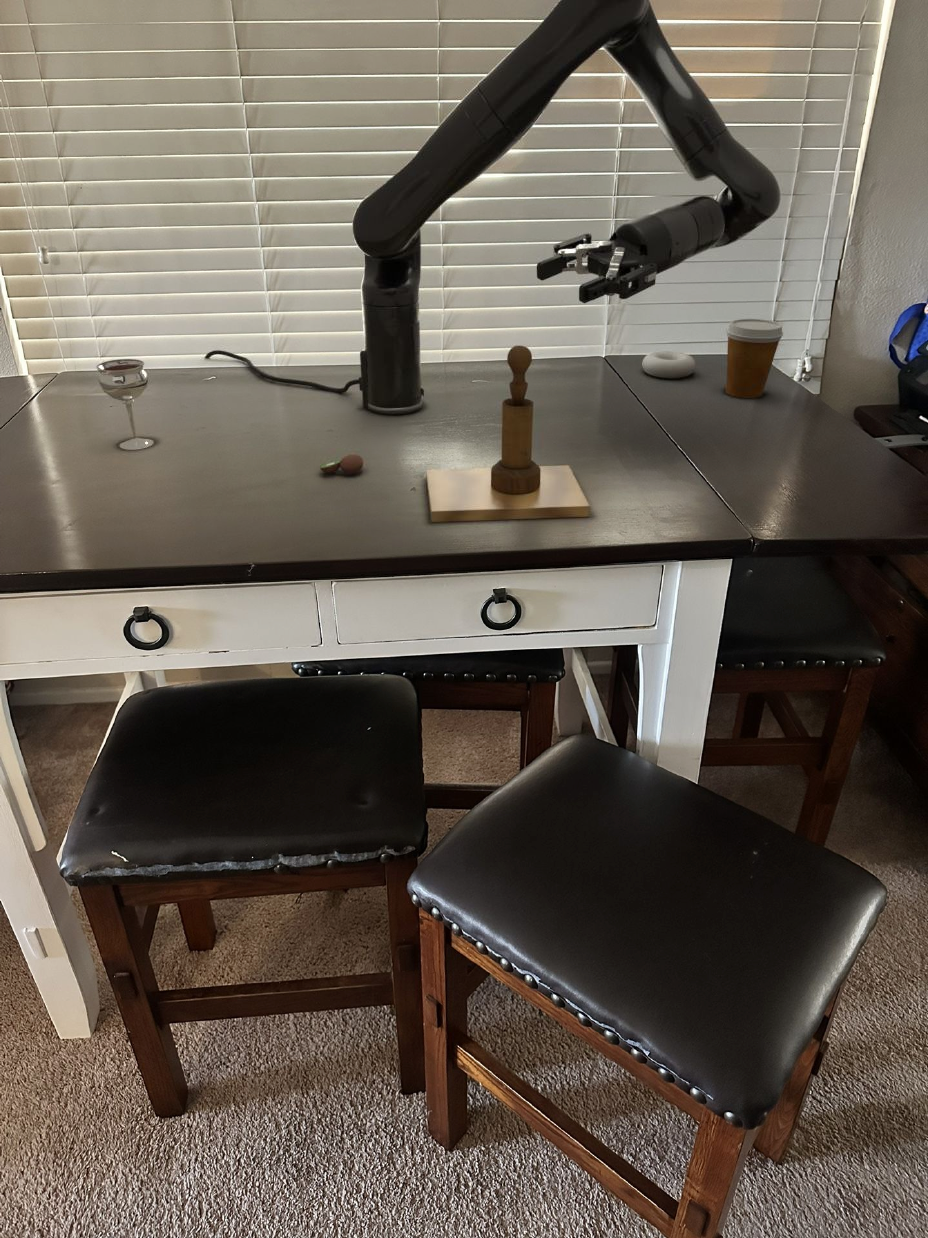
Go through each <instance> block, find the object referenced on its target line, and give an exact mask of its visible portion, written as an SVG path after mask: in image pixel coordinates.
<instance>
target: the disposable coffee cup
mask: <svg viewBox="0 0 928 1238" xmlns="http://www.w3.org/2000/svg"><path fill="white" fill-rule="evenodd" d="M725 332H726V336H727V355H726V382H725V383H726V384H725V393H726V394H727V395H729V396H732V397H736V398H741V399H742V398H743V399H756V398H759V397H760V398H761V397H762V396H763V393H764V390H765V387H766V385H767V382H768V377H769V374H770V371H771V369H772V365H773V362H774V359H775V356H776V353H777V349H778V346H779V342H780V340H781V339H782V337H783V336H784V331H783V324H781V323H779V322H777V321H773V320H769V319H761V318H737V319H733V320H731V321H730V322H729V326H728V327H727V328H726V329H725Z"/></svg>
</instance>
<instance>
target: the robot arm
mask: <svg viewBox="0 0 928 1238" xmlns="http://www.w3.org/2000/svg"><path fill="white" fill-rule="evenodd" d="M600 49H603V50H604V51H605V52H606V54H608V55H609V57H610V58H611V59H612V60H614V61H615V63H616V64H617V65H618V66H619V68H621V70H622V71H623V72H624V73H625V74H626V76H627V77H628V78H629V81H630V82H631V83H632V84H633V86H634V87H635V89H636V90H637V91H638V93H639V95H640V96H641V98H642V99H643V101H644V103H645V104H646V107H647V108H648V110H649V111H650V113H651V116H652V117H653V119H654V120H655V122H656V124H657V126H658V128H659V130H660V131H661V133H662V135H663V136H664V138H665V140H666V142H667V143H668V145H669V146H670V148H671V149H672V151H673V153H674V154H675V156H676V157H677V159H678V160H679V162H680V163H681V165H682V166H683V169H685V171H686V173H687V174H688V176H689V177H690V178H691V179H692V180H693V181H695V182H702V181H706V180H707V179H709V178H711V177H715V178H717V179H718V180H719V181H721V182H722V183H723V184H724V185H725V187H724V188H723V189H722V190H721V191H719V192H717V193H716V194H715V195H713V196H707V195H700V196H695V197H692V198H688V199H686V200H684V201H681V202H679V203H676V204H674V205H672V206H667V207H663V208H659V209H657V210H654V211H651V212H649V213H646V214H644V215H642V216H639V217H637V218H634V219H632V220H629V221H627V222H624V223H622V224H620V225H619V226H618V227H616V229H615V230H614V231H613V233H612V235H611V237H610V238H609V239H608V240H601V241H597V242H594V241H593V240H592V237H593V236H592V233H588V232H587V233H583V234H580V235H577V236H575V237H572V238H569V239H566V240H563V241H561V242H558V243H555V244H553V246H552V247H553V249H552V250H553V251H552V252H553V256H551V257H549V258H546V259H544V260H541V261H539V262H538V263H537V264H536V278H537V279H538V280H539V281H545V280H548V279H550V278H552V277H555V276H557V275H559V274H562V273H564V272H576V274H577V275H588V274H589V275H590V274H592V275H595V276H597V277H595V278H593V279H590V280H588V281H586V282H584V283H581V285H580V286H579V288H578V301H579V302H581V303H582V304H587V303H589V302H593V301H596V300H597V299H599V298H601V297H604V296H608V297H612V296H613V297H614V296H615V295H618V299H620V300H627V299H629V298H631V297H633V296H636V295H637V294H639V293H641V292H643V291H645V290H647V289H650V288H651V287H653V286H655V285H656V281H657V275H658V274H661V273H663V272H665V271H668V270H670V269H672V268H675V267H676V266H678V265H680V264H681V263H683V262H685V261H686V260H689V259H690V258H692V257H695V256H698V255H700V254H701V253H704V252H706V251H708V250H711V249H712V250H713V249H717V248H723V247H725V246H728V245H731V244H733V243H735V242H737V241H739V240H741V239H743V238H744V237H746V236H748V235H749V234H750V233H751V232H753V231H754V230H755V229H757V228H758V227H760V226H761V225H762V224H763V223H765V222H767V220H770V218H771V217H773V216H774V215H775V214H776V212H777V211H778V209H779V207H780V204H781V189H780V185H779V182H778V180H777V178H776V176H775V175H774V174H773V172H772V171H771V170H770V169H769V168H768V167H767V166H766V165H765V164H764V163H763V162H762V161H760V159H758V158H757V157H756V156H755V154H753V153H751V151H749V150H748V149H747V148H746V147H745V146H744V145H743V144H741V143H740V142H739V141H738V140H737V139H735V137H734V136H733V134H732V133H731V131H730V130H729V129H728V127H727V125H726V123H725V122H724V121H723V119H722V117H721V116H720V113H718V110H717V109H716V108H715V106H714V105H713V103H712V102H711V100H710V99H709V97H708V96H707V94H706V93H705V91H704V90H703V89H702V88H701V86H700V85H699V84H698V83H697V81H696V80H695V79H694V78H693V77H692V75H691V74H690V73H689V71H688V70H687V69H686V68H685V67H684V65H683V64H682V62H681V61H680V59H679V58H678V56H677V55H676V53H675V52H674V51H673V49H672V48H671V46H670V44H669V42H668V41H667V39H666V36H665V35H664V32H663V31H662V28H661V26H660V24H659V21H658V19H657V17H656V14H655V11H654V9H653V6H652V3H651V1H650V0H558V2H557V3H556V4H555V6H554V7H553V8H552V9H551V11H549V13H548V14H547V15H546V17H545V18H544V19H543V20H542V21H541V22H540V23H539V24H538V26H537V27H536V28H535V29H534V30H533V31H532V32H531V33H530V34H529V35H528V36H526V38H524V39H523V40H522V41H521V42H520V43H519V44H517V46H516V47H514V49H512V50H511V51H510V52H509V53H508V54H507V55H506V56H505V57H503V59H502V60H501V61H500V62H498V64H497V65H496V66H495V67H494V68H492V70H490V71H489V72H488V74H486V75H485V76H484V77H483V78H482V79H481V80H480V81H479V82H478V83H477V84H476V85H475V86H474V87H472V89H471V90H470V91H469V92H468V93H467V94H466V95H465V96H464V97H463V98H462V99H461V100H460V101H459V103H458V104H457V105H456V106H455V107H454V108H453V109H452V110H451V112H449V114H448V115H447V116H446V117H445V118H444V119H443V120H442V121H441V123H439V125H438V126H437V127H436V128H435V130H434V131H433V132H432V133H431V134H430V136H429V137H428V138H427V140H426V141H425V142H424V144H423V145H422V146H421V147H420V149H419V150H418V151H417V152H416V154H415V155H414V156H413V157H412V158H411V159H410V160H409V161H408V162H407V163H406V164H405V165H404V166H403V167H402V168H401V169H400V170H398V171H397V172H396V173H395V174H394V175H393V176H391V177H390V178H389V179H388V180H387V181H385V182H384V183H383V184H382V185H381V186H380V187H378V188H377V189H375V190H374V191H373V192H372V193H370V194H369V195H367V196H366V197H365V198H364V199H362V200H361V201H360V202H359V204H358V205H357V207H356V209H355V211H354V214H353V218H352V226H351V227H352V236H353V240H354V242H355V244H356V246H357V247H358V248H359V250H360V251H361V252H362V253H363V260H364V261H363V263H364V264H363V265H364V267H363V275H362V280H361V285H360V295H361V313H362V331H363V345H364V346H363V347H364V348H363V349H361V350H360V351H359V363H360V364H359V365H360V376H359V377H358V378H357V379H352V380H350V381H347V382H346V384H345V385H344V387H331V386H328V385H323V384H321V383H318V382H312V381H308V380H301V379H300V380H299V379H294V378H293V379H292V378H284V377H278V376H274V375H270V374H269V373H268V374H267V373H266V372H263V371H262V370H261V369H259V368H258V367H257V366H255V365H254V364H253V363H252V361H251V360H250V359H249V358H247V357H245V356H241V355H238V354H236V353H233V352H229V351H226V350H219V349H217V350H216V349H215V350H212V351H209V352H207V353H206V355H205V356H204V359H206V360H207V359H208V360H209V359H211V357H213V356H215V355H216V356H217V355H218V356H219V355H220V356H221V355H222V356H225V357H229V358H232V359H234V360H238V361H241V362H244V363H246V365H248V367H249V368H250V369H251V370H252V371H254V372H255V373H256V374H258V375H259V376H260V377H261V378H264V379H267V380H269V381H273V382H278V383H282V384H288V385H289V384H290V385H298V386H305V387H311V388H316V389H318V390H322V391H327V392H331V393H337V394H343V393H346V392H347V391H349V389H350V387H351V386H352V387H353V386H355V385H359V387H358V388H359V391H360V392H361V395H362V409H367V410H370V411H371V412H374V413H377V414H384V415H404V414H409V413H413V412H416V411H419V410H420V409H422V407H423V397H425V389H423V388H422V367H421V366H422V364H421V363H422V361H421V327H420V323H421V322H420V286H421V277H422V227H423V226H424V225H425V224H426V223H427V222H428V220H429V219H430V218H431V217H432V216H433V215H434V213H435V212H437V210H438V209H440V207H441V206H442V205H444V204H445V203H446V202H447V201H448V200H450V198H452V197H453V196H454V195H456V194H458V192H460V191H461V190H463V189H464V188H466V187H467V186H469V185H470V184H471V183H472V182H474V181H475V180H477V179H478V178H479V177H481V176H482V175H483V174H485V173H486V172H487V171H488V170H489V169H490V168H492V167H493V166H494V165H495V164H497V162H499V161H500V160H501V159H502V158H504V156H505V155H507V153H508V152H509V151H511V150H512V149H513V148H514V147H515V146H516V145H517V144H518V143H519V141H521V140H522V139H523V138H524V137H525V136H526V135H527V133H528V132H530V130H531V129H532V127H534V125H535V124H536V123H537V121H538V120H539V119H540V117H541V116H542V115H543V113H544V111H545V110H546V109H547V107H548V106H549V104H550V103H551V102H552V100H553V99H554V97H555V96H556V94H557V93H558V92H559V90H560V88H561V87H562V86H563V85H564V84H565V82H566V81H567V80H568V78H569V77H570V76H572V74H573V73H574V72H575V71H577V70H578V68H579V67H580V66H582V65H583V64H584V63H585V62H587V60H589V59H590V58H591V57H593V55H594V54H596V53H597V52H598V51H599V50H600ZM583 259H586V260H587V261H586V265H583ZM574 261H575V262H574ZM570 262H574V263H570ZM630 283H631V284H630ZM422 396H423V397H422Z"/></svg>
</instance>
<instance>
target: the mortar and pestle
mask: <svg viewBox="0 0 928 1238" xmlns="http://www.w3.org/2000/svg"><path fill="white" fill-rule="evenodd" d="M506 361H507V364H508V366H509V368H510V370H511V372H512V376H513V377H512V381H510V382H509V383H508V384H509V390H510V396H511V397H510V398H506V399H504V400H503V401H502V402H501V403H502V404H501V418H502V419H501V459H500V460H498V461H497V462H496V463H495V464H493V466H492V467H491V468H492V469H491V486H492V488H493V489H495V490H497V491H499V492H502V493H508V494H523V493H529V492H532V491H535V490H536V489H537V488H539V486H540V474H541V470H540V467H539V466H540V465H538V464H537V463H536V462H535V461H533V460H532V455H533V454H532V453H533V452H532V451H533V420H534V419H533V418H534V401H533V400H530V399H528V398H525V397H526V394H527V390H528V386H529V383H528V382H527V381H526V373H527V371H528V370H529V368H530V366H531V364H532V361H533V355H532V351H531V350H530V349H529V347H527V346H526V345H525V346H523V345H514V346H512V347H511V348H510V349H509V351H508V353H507V357H506Z"/></svg>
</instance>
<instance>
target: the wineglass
mask: <svg viewBox="0 0 928 1238" xmlns="http://www.w3.org/2000/svg"><path fill="white" fill-rule="evenodd" d="M144 365H145V362H144V361H143V360H141V359H136V358H119V359H118V358H117V359H111V360H106V361H102V362H100V363H99V364H97V365H96V366H95V367H96V370H97V371H98V372H99V375H98V382H99V386H100V388H101V389H102V391H103V392H104V393H105V394H106V395H108V396H109V397H111V398H112V399H113V400H118V401H121V403H122V404H124V405H125V407H126V411H127V416H128V419H129V424H130V427H131V432H132V435H133V438H130V439H127V440H125V441H122V442H121V443H119V445H118V446H119V448H121V449H123V450H128V451H133V450H135V451H136V450H142V449H145V448H146V449H147V448H148V447H151V446H153V444H154V440H153V439H151V438H144V437H143V438H141V437H137V430H136V426H135V425H136V424H135V418H134V413H133V407H132V403H134V401H135V399H137V398H139V397H141V396H142V394H143V393H144V392H145V390H146V389H147V387H148V382H149V379H148V375H147V372H146V370H145V369H144Z"/></svg>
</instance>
